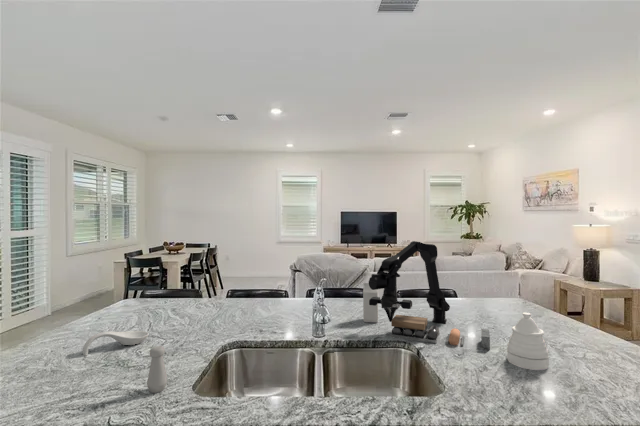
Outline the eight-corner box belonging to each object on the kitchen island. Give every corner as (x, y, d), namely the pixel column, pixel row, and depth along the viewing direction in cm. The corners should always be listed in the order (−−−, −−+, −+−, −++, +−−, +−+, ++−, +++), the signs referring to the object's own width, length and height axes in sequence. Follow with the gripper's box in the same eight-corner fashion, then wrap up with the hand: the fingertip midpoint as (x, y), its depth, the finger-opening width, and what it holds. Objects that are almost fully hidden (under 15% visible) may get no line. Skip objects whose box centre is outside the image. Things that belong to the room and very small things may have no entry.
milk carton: (377, 322, 172) (377, 284, 172) (363, 322, 173) (363, 284, 173) (378, 318, 179) (377, 282, 179) (364, 318, 180) (364, 281, 180)
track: (397, 328, 163) (397, 320, 163) (464, 337, 150) (464, 328, 150) (390, 337, 151) (390, 328, 151) (463, 347, 139) (463, 337, 139)
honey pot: (549, 373, 116) (548, 319, 116) (506, 364, 123) (505, 314, 123) (548, 359, 127) (547, 310, 127) (508, 352, 133) (507, 305, 134)
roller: (451, 337, 151) (449, 328, 152) (461, 337, 150) (459, 328, 150) (449, 345, 142) (447, 335, 143) (459, 345, 141) (458, 335, 141)
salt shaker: (151, 385, 109) (151, 344, 109) (170, 384, 110) (170, 343, 110) (143, 395, 103) (143, 351, 103) (163, 394, 104) (163, 350, 104)
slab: (396, 319, 161) (396, 314, 162) (427, 323, 156) (427, 318, 156) (391, 326, 152) (391, 320, 152) (424, 330, 147) (424, 324, 147)
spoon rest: (142, 336, 155) (142, 320, 155) (152, 343, 147) (152, 326, 147) (79, 351, 138) (79, 333, 138) (87, 360, 130) (87, 341, 130)
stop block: (481, 340, 146) (481, 328, 146) (489, 341, 145) (489, 329, 145) (481, 348, 137) (481, 336, 137) (490, 350, 136) (489, 337, 136)
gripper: (365, 289, 154) (365, 324, 154) (407, 292, 147) (408, 329, 146) (372, 284, 165) (372, 317, 164) (412, 287, 157) (412, 322, 157)
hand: (390, 321), depth 158 cm, fingers closed
